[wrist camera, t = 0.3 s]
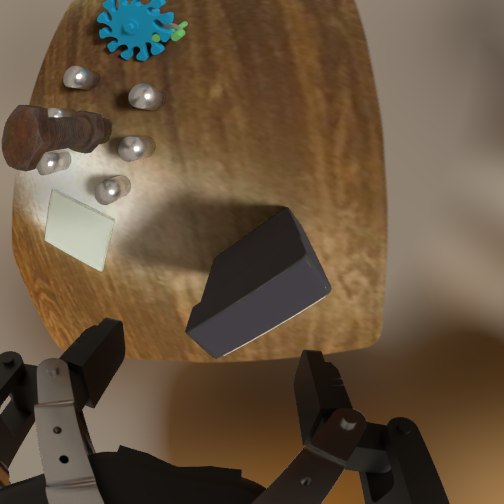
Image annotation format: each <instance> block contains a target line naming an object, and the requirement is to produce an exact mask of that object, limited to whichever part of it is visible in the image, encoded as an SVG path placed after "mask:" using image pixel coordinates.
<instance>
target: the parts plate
mask: <svg viewBox="0 0 504 504" xmlns="http://www.w3.org/2000/svg"><path fill="white" fill-rule="evenodd" d="M114 222H115V219H113V218H111V217H109V216H107V215H105V214H103V213H101V212H99V211H97V210H95V209H93V208H91V207H89V206H86V205H84V204H82V203H80V202H78V201H76V200H74V199H72V198H70V197H68V196H66V195H65V194H63V193H61V192H59V191H57V190H52V194H51V199H50V205H49V211H48V218H47V225H46V234H45V240H46V241H47V242H49V243H51V244H52V245H54V246H56V247H57V248H59V249H61V250H63V251H64V252H66V253H68V254H70V255H71V256H73V257H75V258H77V259H78V260H80V261H82V262H84V263H86V264H88V265H89V266H91V267H93V268H95V269H97V270H99V271H102V270H103V267H104V263H105V258H106V254H107V250H108V246H109V241H110V237H111V234H112V230H113V226H114Z"/></svg>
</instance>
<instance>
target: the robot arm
mask: <svg viewBox="0 0 504 504" xmlns="http://www.w3.org/2000/svg"><path fill="white" fill-rule="evenodd" d="M124 357H125V341H124V330H123V323H122V321H119V320H115V319H111V318H107V317H106V318H105V319H104V320H103V321H102V322H101V323H100V324H99V325H98V326H96V325H94V326H92V327H90V328H88V329H86V330H85V331H84V332H83V333H82V334H81V335H80V337H78V338H77V339H76V340H75V342H74V343H73V344H72V345H71V346H70V347H69V348H68V349H67V350H66V351H65V352H64V354H63V355H62V356H61V357H60V358H59V359H57V358H50V359H46V360H44V361H42V362H41V363H40V364H39V365H38V366H34V365H28V364H24V363H23V360H22V357H21V355H19V354H18V353H16V352H12V351H9V352H4V353H2V354H0V407H1V405H2V404H3V402H4V401H5V400H6V398H7V397H8V396H10V397H11V401H10V402H9V404H8V405H7V406H6V408H5V409H4V410H3V412H2V413H1V415H0V504H321V503H322V501H323V500H324V499H325V498H326V496H327V495H328V493H329V492H330V490H331V489H332V488H333V486H334V485H335V483H336V482H337V480H338V478H339V477H340V475H341V474H342V472H343V471H344V469H347V470H353V471H359V475H360V479H361V484H362V489H363V494H364V499H365V504H449V501H448V498H447V496H446V493H445V491H444V488H443V485H442V483H441V480H440V478H439V475H438V473H437V470H436V468H435V465H434V463H433V461H432V458H431V456H430V454H429V451H428V449H427V447H426V445H425V442H424V440H423V438H422V436H421V433H420V431H419V429H418V427H417V426H416V424H415V423H414V422H413V421H411V420H409V419H407V418H404V417H396V418H393V419H391V420H390V421H389V423H388V424H387V425H381V424H374V423H369V422H367V420H366V418H365V416H364V415H363V414H362V413H360V412H359V411H357V410H355V409H353V408H352V405H351V402H350V400H349V397H348V394H347V392H346V389H345V387H344V384H343V381H342V379H341V376H340V373H339V371H338V369H337V368H336V367H335V366H334V365H333V364H332V363H331V362H325V361H324V358H323V355H322V352H321V351H315V350H303V352H302V354H301V358H300V361H299V365H298V368H297V371H296V374H295V379H294V393H295V399H296V405H297V411H298V417H299V424H300V429H301V436H302V443H303V445H306V446H305V447H304V448H303V449H302V450H301V452H300V453H299V454H298V455H297V456H296V457H295V458H294V460H293V461H292V462H291V463H290V464H289V465H288V466H287V467H286V469H285V470H284V471H283V472H282V473H281V474H280V475H279V476H278V477H277V478H276V479H275V480H274V481H273V482H272V483H271V485H269V487H268V488H267V489H266V488H265V487H263V486H262V485H260V484H258V483H256V482H254V481H251V480H249V479H246V478H243V477H241V473H242V472H241V470H240V469H229V468H221V467H213V466H204V467H177V466H174V465H171V464H169V463H167V462H165V461H163V460H160V459H158V458H156V457H154V456H152V455H150V454H148V453H145V452H141V451H137V450H134V449H131V448H128V447H124V446H121V445H120V446H119V449H118V451H117V452H100V453H96V452H95V449H94V447H93V444H92V441H91V438H90V435H89V432H88V428H87V425H86V421H85V418H84V414H83V411H82V409H83V408H84V406H85V405H86V406H89V407H91V408H95V406H96V404H97V403H98V401H99V400H100V398H101V396H102V394H103V393H104V391H105V390H106V388H107V386H108V385H109V383H110V381H111V380H112V378H113V376H114V375H115V373H116V372H117V370H118V368H119V367H120V365H121V364H122V362H123V360H124ZM34 422H36V430H37V437H38V444H39V450H40V455H41V461H42V465H43V470H44V474H41V475H38V476H35V477H32V478H29V479H26V480H23V481H20V482H17V483H13V484H11V482H10V481H9V471H8V468H9V466H10V464H11V462H12V460H13V458H14V456H15V454H16V453H17V451H18V449H19V447H20V445H21V444H22V442H23V441H24V439H25V437H26V435H27V434H28V432H29V430H30V428H31V427H32V425H33V424H34Z"/></svg>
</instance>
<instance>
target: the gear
mask: <svg viewBox="0 0 504 504" xmlns="http://www.w3.org/2000/svg"><path fill="white" fill-rule="evenodd" d="M165 4H166V3H165V0H152V1H151V2H150V3H149V4H145V5H142V4H141V3H140V0H133V1H132V2H131V3H130V4H129V3H128V2H127V0H119V8H118V9H117V8H116V0H107V1H105V2H104V3H103V6H104V8H106V9H107V10H108V11H109V12H110V14H111V16H112V19H111V18H110V16H109V13H108V12H106V11H104V12H103V13H101V14H100V15H99V16H98V18H97V21H98V22H99V23H105V24H107V25H108V26H109V27H110V28H111V29H112V31H111V30H110V29H109V28H108V27H104V28H103V29H101V30H100V31H99V35H100V38H105V37H109V36H110V37H115V38H117V40H118V41H116V40H114V41H112V42H110V43H109V44H108V45H107V46H108V48H109V50H110V51H111V52H113V51H115V50H116V49H117V48H118V47H119V46H120V45H123V44H125V45H127V46H128V49H126V50H124V51H123V52H122V53H121V57H123V58H124V59H126V60H128V59H129V58H131V57H132V56H133V50H134V48H135V46H138V47H139V48H140V52H139V53H138V54H137V56H136V58H137V59H138V60H141V61H145V60H146V59H147V58H149V56H150V55H149V52H148V50H147V43H148V42H149V43H151V45H152V48H151V53H152V54H153V55H156V54H159V53H161V52H162V51H163V50H164V49H165V48H164V46H163V45H162V44H161V43H160V42H159V41H160V40H161V41H163V42H167V41H168V40H169V39H172V40H173V41H178V40H179V39H180V38H182V37H183V36H184V35H185V31H184V30H183V28H184V27H186V26H187V25H188V23H187V22H186V21H184V22H182V23H180V24H179V25H176V24H173V23H171V22H173V19H174V13H172V12H167V13H164V14H159V13H160V10H159V9H158V8H159V7H161V6H163V5H165ZM151 7H154V8H155V9H153V10H151ZM155 32H156V34H155Z"/></svg>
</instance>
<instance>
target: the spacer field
mask: <svg viewBox="0 0 504 504" xmlns="http://www.w3.org/2000/svg"><path fill="white" fill-rule="evenodd" d="M99 80H100V76H99V74H98V73H97V72H95V71H92V70H89V69H85V68H82V67H79V66H72V67H70V68H69V69H68V70H67V71H66V73H65V74H64V78H63V82H64V85H65V86H67V87H72V88H78V89H84V90H93V89H94V88H95V87H96V86H97V85H98V83H99ZM165 101H166V97H165V94H164V93H163V92H162V91H160V90H158V89H156V88H154V87H152V86H149V85H147V84H143V83H142V84H138V85H136V86H134V87H133V88H132V89H131V91H130V93H129V102H130V104H131V105H132V106H133V107H136V108H141V109H145V110H150V111H157V110H159V109H161V108H162V107H163V106H164V104H165ZM75 114H76V111H75V110H74V109H63V108H49V109H48V117H73V116H74V115H75ZM154 151H155V142H154V140H153V139H152V138H151V137H149V136H130V137H126V138H124V139H123V140H122V141H121V142H120V144H119V147H118V153H119V156H120V157H121V159H123V160H124V161H128V162H129V161H134V160H138V159H143V158H147V157H150V156H151V155H152V154H153V153H154ZM70 163H71V156H70V153H69V152H68V151H65V150H64V151H58V152H52V153H47V154H44V155H43V156H42V158H41V160H40V161H39V163H38V165H37V170H38V172H39V173H40V174H41V175H47V174H50V173H54V172H57V171H61V170H65V169H67V168H68V167H69V166H70ZM130 189H131V183H130V180H129V179H128V178H127V177H126V176H123V175H120V176H117V177H114V178H111V179H108V180H105V181H103V182H100V183H99V184H98V185H97V186H96V188H95V198H96V200H97V201H98V202H99V203H100V204H102V205H108V204H110V203H112V202H114V201H116V200H118V199H119V198H121V197H123V196H125V195H127V194H128V193H129V192H130Z"/></svg>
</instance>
